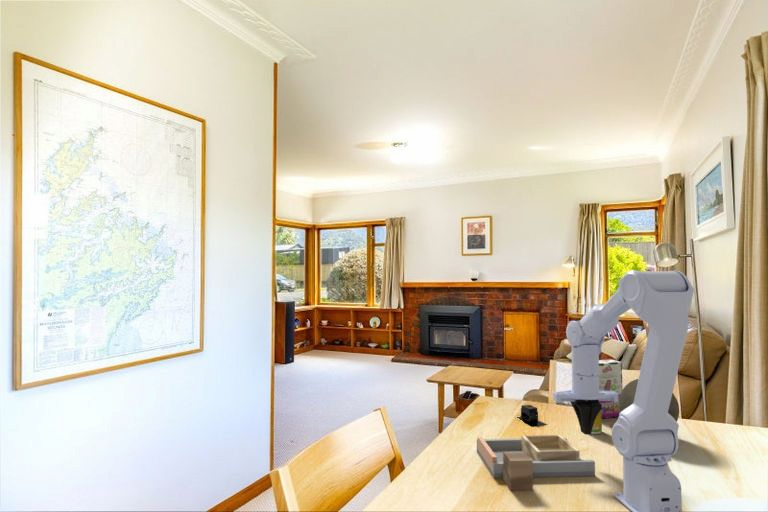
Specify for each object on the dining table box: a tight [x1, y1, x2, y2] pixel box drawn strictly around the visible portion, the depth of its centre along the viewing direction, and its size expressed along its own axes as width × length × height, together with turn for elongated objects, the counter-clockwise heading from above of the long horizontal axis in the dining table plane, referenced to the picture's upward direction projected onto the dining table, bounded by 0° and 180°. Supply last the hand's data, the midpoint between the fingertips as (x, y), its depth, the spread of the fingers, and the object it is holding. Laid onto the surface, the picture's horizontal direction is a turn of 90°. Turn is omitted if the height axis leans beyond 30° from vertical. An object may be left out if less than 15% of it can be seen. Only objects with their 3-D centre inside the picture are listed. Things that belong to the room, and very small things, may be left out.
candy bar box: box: [599, 358, 623, 420], centre depth 133 cm, size 11×5×16 cm, turn 105°
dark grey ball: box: [619, 378, 680, 423], centre depth 116 cm, size 14×14×15 cm
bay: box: [476, 436, 596, 479], centre depth 100 cm, size 14×22×4 cm, turn 93°
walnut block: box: [502, 451, 534, 492], centre depth 90 cm, size 4×4×6 cm
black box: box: [517, 404, 548, 428], centre depth 129 cm, size 12×7×5 cm, turn 18°
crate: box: [521, 434, 581, 461], centre depth 100 cm, size 9×9×3 cm
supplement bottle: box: [590, 409, 603, 435], centre depth 121 cm, size 5×5×10 cm
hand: (585, 432), depth 101 cm, fingers closed
